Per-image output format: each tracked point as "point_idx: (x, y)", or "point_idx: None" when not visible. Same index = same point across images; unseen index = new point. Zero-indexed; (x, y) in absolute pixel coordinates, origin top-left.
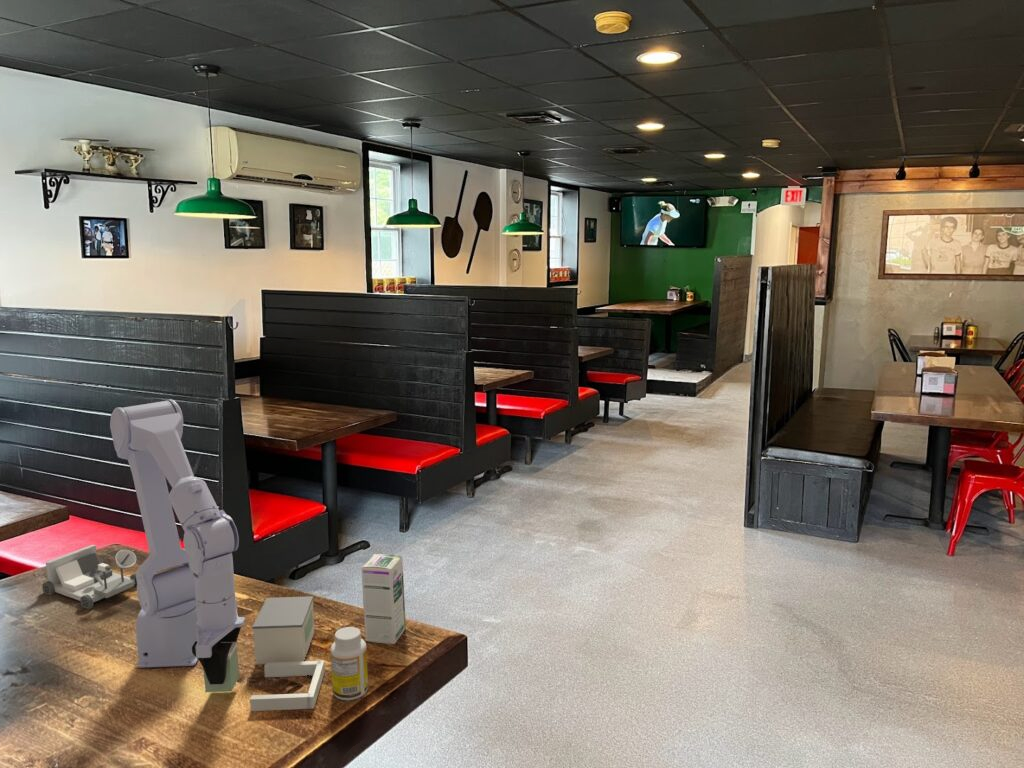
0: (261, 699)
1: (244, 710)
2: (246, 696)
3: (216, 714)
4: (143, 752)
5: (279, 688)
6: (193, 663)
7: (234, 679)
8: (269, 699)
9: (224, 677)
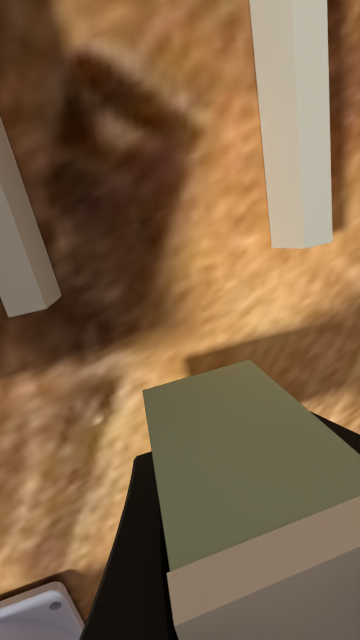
0: (329, 184)
1: (288, 269)
2: (206, 306)
3: (308, 352)
4: None
5: (132, 184)
6: (59, 591)
7: (215, 385)
8: (327, 140)
9: (320, 417)
